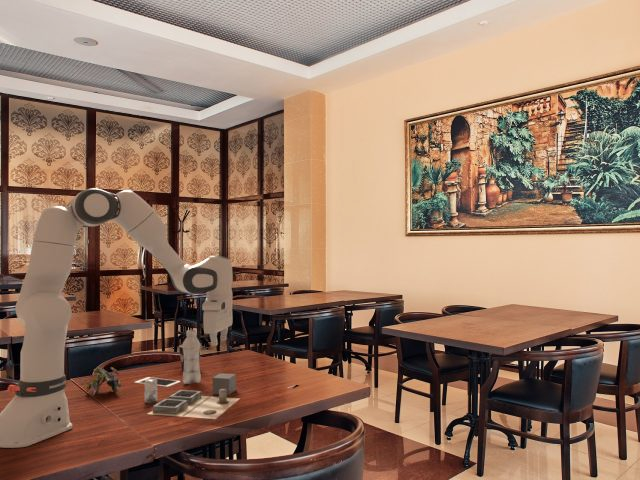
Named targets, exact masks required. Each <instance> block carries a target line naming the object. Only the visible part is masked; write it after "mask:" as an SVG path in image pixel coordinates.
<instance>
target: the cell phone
mask: <svg viewBox="0 0 640 480" xmlns="http://www.w3.org/2000/svg"><path fill="white" fill-rule="evenodd" d="M147 379H157V387H164V388H169V387H172V386H175V385H176V384H177V385H178V384H179V383H181V380H175V379H166V378H160V377H159V378H158V377H151V376H148V377H144V378H142V379H138V380H136V381H134V383H135V384H140V385H142V384H143V385H145V380H147Z"/></svg>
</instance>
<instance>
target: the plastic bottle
mask: <svg viewBox="0 0 640 480" xmlns="http://www.w3.org/2000/svg"><path fill="white" fill-rule="evenodd" d="M197 333H198V332H197V330H196V329H188V330H186V334H185V336H186V337H185V339H184V340H183V342H182V344H181V345H182V346H183V353H184V371H182V372H183V373H182V382H183V384H184V385H185V384H186V385H192V384H196V383H197V384H199V383H200V382H201V379H202V375H201V370H200V359H199V352H200V350H201V342H200V341H199V338H198V337H197V335H198V334H197Z"/></svg>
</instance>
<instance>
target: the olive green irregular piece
mask: <svg viewBox="0 0 640 480" xmlns="http://www.w3.org/2000/svg"><path fill="white" fill-rule="evenodd" d="M110 370H112V372H109V371H107V370H105V369H104V368H101V367H99V366H98V367H97V370H96V369H95V368H94V369H93V373H94V374H96V379H93V380H92V381H90V382H87V381H85V379H82V380H81V383H80V385H81V386H83V385H84V384H83V383H85V384H87V386H86V393H88V391H89V390H91V388H92V387H93V394H92V396H91V398H93V397H94V396H95V394H96V393H97V392H98V391H99V390H100V386H102V385H103V384H104V382H106V384H107V385H108V386H109V387H111V391H112V392H113V393H116V392H118V388H121V387H122V384H121V381H119V380H120V379H119V378H117V377H115V376H116V375H118V376H119V374H120V373H119V371H118V370H117V369H116V368H114V367H112V366H111V367H110ZM115 374H116V375H115ZM117 387H118V388H117Z"/></svg>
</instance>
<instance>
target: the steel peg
mask: <svg viewBox="0 0 640 480" xmlns="http://www.w3.org/2000/svg"><path fill="white" fill-rule="evenodd" d="M156 402H157V403H158V386H157V379H147V380H145V384H144V403H145V404H153V403H154V404H155V403H156Z"/></svg>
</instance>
